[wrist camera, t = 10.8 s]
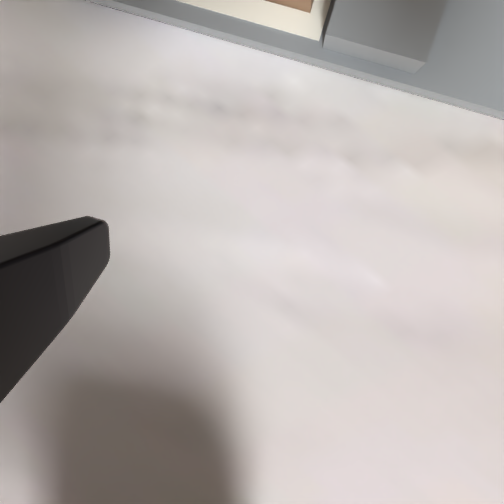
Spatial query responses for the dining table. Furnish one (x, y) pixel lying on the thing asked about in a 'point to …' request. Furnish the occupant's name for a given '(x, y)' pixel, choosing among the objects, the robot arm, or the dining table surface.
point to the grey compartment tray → (364, 40)
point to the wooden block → (295, 4)
